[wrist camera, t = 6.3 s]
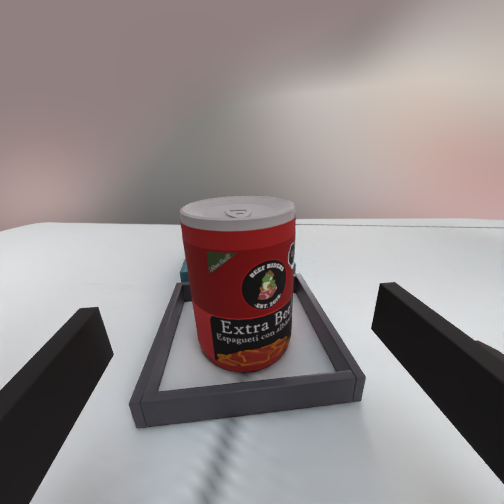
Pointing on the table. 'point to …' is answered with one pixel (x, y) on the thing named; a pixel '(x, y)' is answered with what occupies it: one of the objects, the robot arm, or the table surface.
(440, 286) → the table surface
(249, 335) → the canned food
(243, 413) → the tray
